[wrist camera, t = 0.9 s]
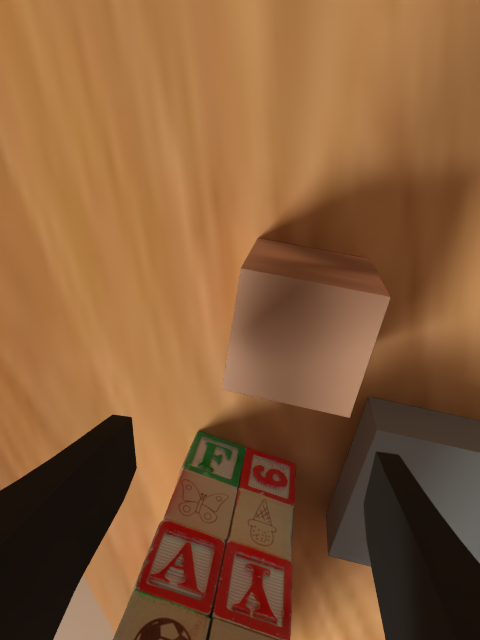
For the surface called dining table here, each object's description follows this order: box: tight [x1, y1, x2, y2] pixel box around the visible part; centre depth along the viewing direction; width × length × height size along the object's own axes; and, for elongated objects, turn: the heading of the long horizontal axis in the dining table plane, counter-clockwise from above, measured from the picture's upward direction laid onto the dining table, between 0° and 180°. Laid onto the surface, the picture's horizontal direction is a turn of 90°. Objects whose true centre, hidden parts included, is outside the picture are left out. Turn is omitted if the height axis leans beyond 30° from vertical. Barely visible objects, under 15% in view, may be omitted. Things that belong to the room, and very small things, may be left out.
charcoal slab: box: [326, 397, 480, 566], centre depth 20 cm, size 9×9×3 cm
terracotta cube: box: [222, 238, 391, 418], centre depth 16 cm, size 5×5×5 cm
